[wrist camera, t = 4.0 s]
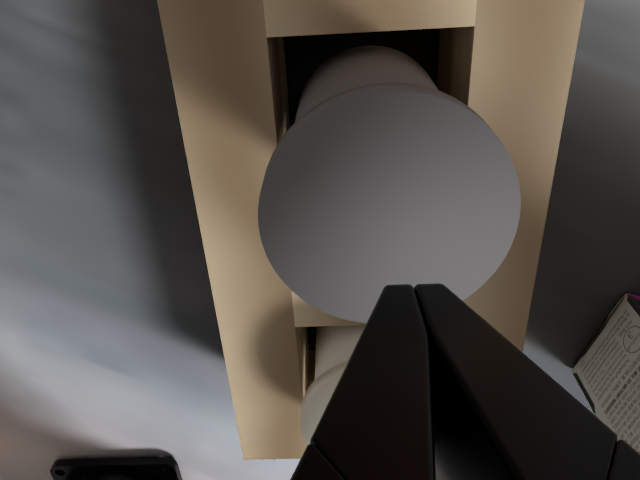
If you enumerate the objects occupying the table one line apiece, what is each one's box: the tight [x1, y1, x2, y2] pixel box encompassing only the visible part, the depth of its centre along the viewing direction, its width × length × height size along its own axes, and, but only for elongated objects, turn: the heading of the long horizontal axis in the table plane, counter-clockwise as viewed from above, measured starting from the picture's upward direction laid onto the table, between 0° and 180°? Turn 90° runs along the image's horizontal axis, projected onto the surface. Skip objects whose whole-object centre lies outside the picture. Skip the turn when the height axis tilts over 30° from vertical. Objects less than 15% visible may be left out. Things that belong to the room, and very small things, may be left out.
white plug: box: [301, 325, 366, 445], centre depth 20 cm, size 5×5×6 cm
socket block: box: [157, 0, 585, 460], centre depth 16 cm, size 10×26×4 cm, turn 3°
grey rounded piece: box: [258, 45, 521, 323], centre depth 13 cm, size 5×5×6 cm
